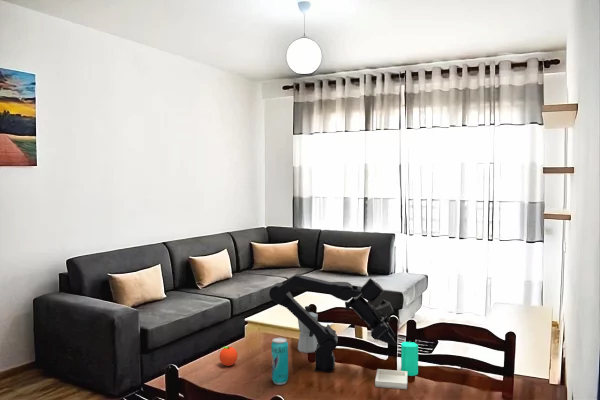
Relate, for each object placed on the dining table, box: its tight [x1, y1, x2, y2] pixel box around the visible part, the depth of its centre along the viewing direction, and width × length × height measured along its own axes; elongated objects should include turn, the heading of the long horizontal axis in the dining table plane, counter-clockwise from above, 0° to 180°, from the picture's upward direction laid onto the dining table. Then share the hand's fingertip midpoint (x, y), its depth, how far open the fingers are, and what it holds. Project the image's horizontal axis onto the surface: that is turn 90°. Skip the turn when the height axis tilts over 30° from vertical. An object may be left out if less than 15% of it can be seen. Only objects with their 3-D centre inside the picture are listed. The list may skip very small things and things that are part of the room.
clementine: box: [218, 346, 239, 367], centre depth 186 cm, size 8×7×7 cm
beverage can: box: [270, 337, 289, 386], centre depth 170 cm, size 6×6×15 cm
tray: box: [374, 368, 409, 390], centre depth 169 cm, size 11×11×2 cm
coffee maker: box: [297, 305, 319, 354], centre depth 201 cm, size 15×9×18 cm, turn 14°
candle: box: [400, 341, 419, 377], centre depth 177 cm, size 6×6×12 cm
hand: (395, 340), depth 178 cm, fingers open, 9 cm apart
